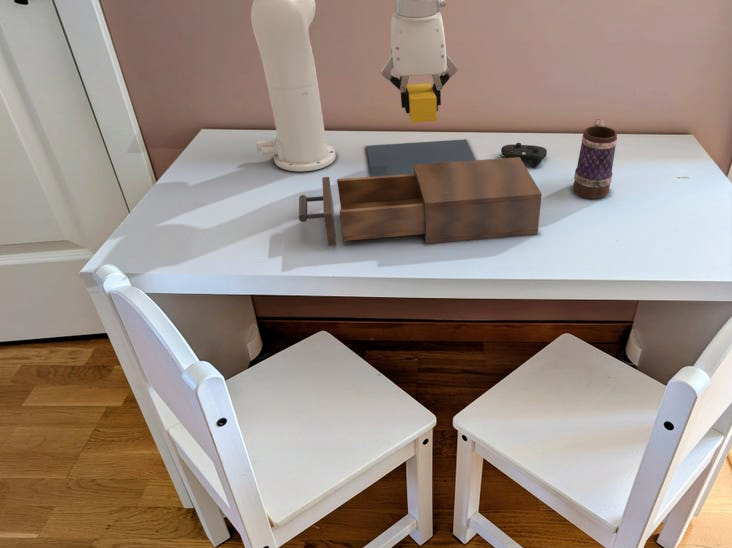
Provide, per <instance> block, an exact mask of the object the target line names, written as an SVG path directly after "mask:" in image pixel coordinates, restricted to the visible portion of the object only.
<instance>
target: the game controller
mask: <svg viewBox="0 0 732 548" xmlns="http://www.w3.org/2000/svg"><path fill="white" fill-rule="evenodd" d="M500 152H501V155H502V156H503V157H504V158H516V157H520V159H521V160H522V162H523V163H529V164H532V166H533V167H534V168H536V167H538V166H539V165H540V164H541V162H542V161H543V160H544V159H545V158H546V157H547V155H548V150H547V149H546V148H545V147H544V146H540V145H534V144H533V145H532V144H522V143H521V142H516V143H515V144H513V143H512V144H505V145H503V146H502V147H501V149H500Z"/></svg>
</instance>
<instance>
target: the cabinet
mask: <svg viewBox="0 0 732 548" xmlns="http://www.w3.org/2000/svg"><path fill="white" fill-rule="evenodd" d="M414 174H416V178H417V181H418V185H419V188H420V192H421V195H422V198H423V202H424V205H425V234H423V236H424V241H425V244H426V245H431V244H442V243H452V242H464V241H465V242H466V241H474V240H475V241H477V240H486V239H487V240H488V239H497V238H508V237H509V238H510V237H520V236H521V237H522V236H532V235H533V236H534V235H538V233H539V224H540V214H541V206H542V205H541V204H542V196H543V195H542V192H541V190H540V188H539V187H538V185H537V184H536V182H535V180H534V178H533V176H532V175H531V174H530V172H529V170H528V168H527V167H526V165H525V163H524V162H522V160H521V159H520V157H516V158H505V157H504V158H490V159H489V158H488V159H475V160H473V161H458V162H444V163H429V164H415V165H414Z"/></svg>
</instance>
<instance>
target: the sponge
mask: <svg viewBox="0 0 732 548" xmlns="http://www.w3.org/2000/svg"><path fill="white" fill-rule="evenodd" d="M432 87H433V86H432V85H431V83H416V84H407V89H408V92H409V108H410V113H408V116H409V120H410V123H413V124H414V123H428V122H437V121H438V111H437V103H436V96H435V93H434V92H433V89H432Z"/></svg>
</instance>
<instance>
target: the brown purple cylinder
mask: <svg viewBox="0 0 732 548" xmlns="http://www.w3.org/2000/svg"><path fill="white" fill-rule="evenodd" d="M617 142H618V133H617V131H616V130H615V129H613V128H612V127H611V128H610V127H608V126H605V120H603V119H601V118H597V119H595V120H594V125H593V126H588V127H587V128H585V129H584V131H583V133H582V137H581V144H580V150H579V154H578V160H577V164H576V168H575V171H574V176H573V177H574V178H573V179H574V182H573V186H572V191H573V192H574V193H575V194H576V195H577V196H579V197H582V198H584V199H588V200H589V199H590V200H598V199H602V198H605V197H606V196H607V195H608V194H609V193H610V187H611V184H612V179H613V166H614V159H615V153H616V146H617Z"/></svg>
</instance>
